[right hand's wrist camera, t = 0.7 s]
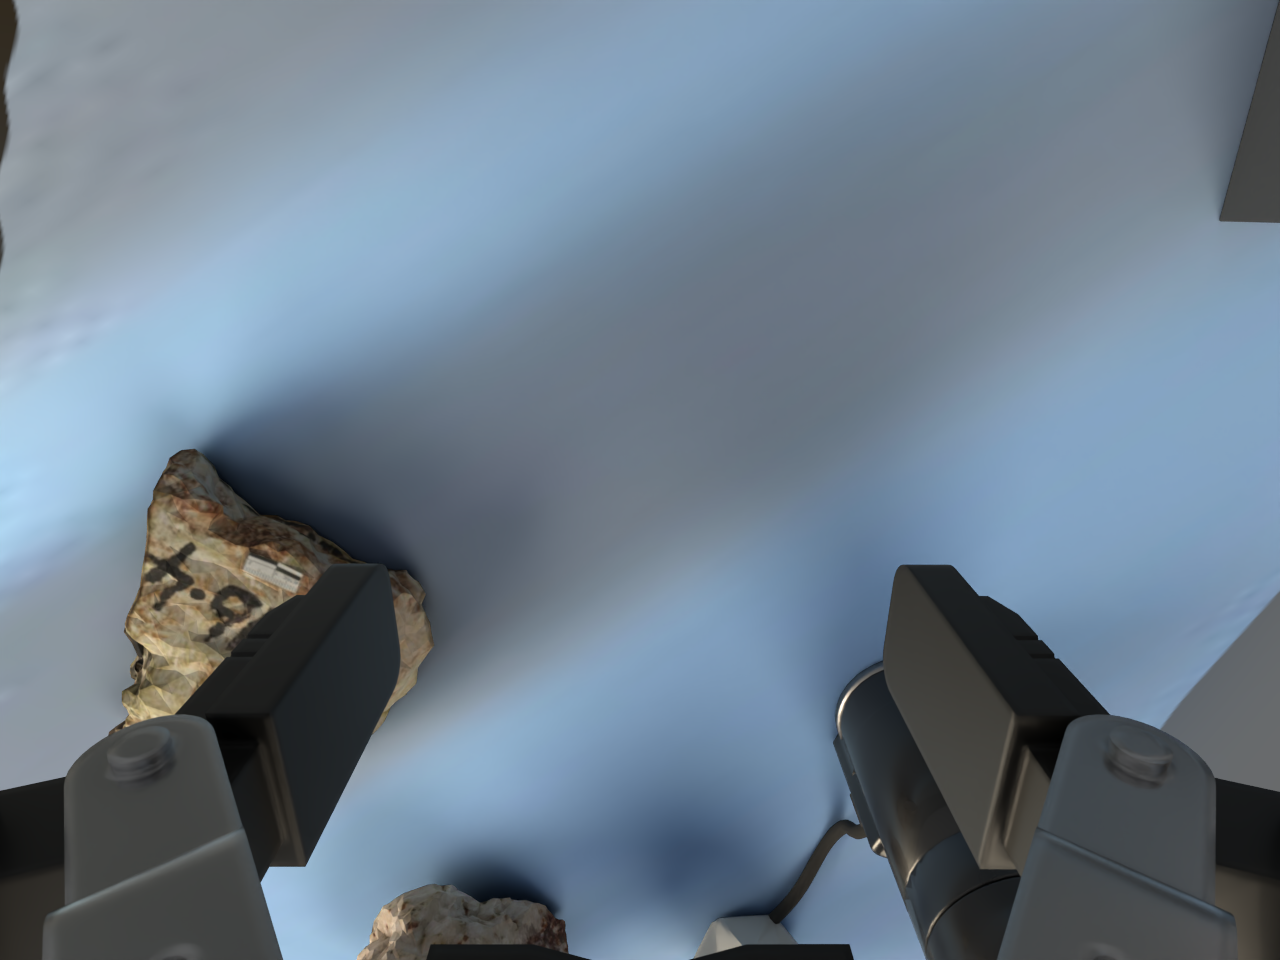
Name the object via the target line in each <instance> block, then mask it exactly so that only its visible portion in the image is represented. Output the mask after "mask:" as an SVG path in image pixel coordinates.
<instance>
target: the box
mask: <svg viewBox="0 0 1280 960" xmlns="http://www.w3.org/2000/svg"><path fill="white" fill-rule="evenodd" d="M1220 221H1231V222H1269V223H1280V0H1279V4H1278V7H1277V11H1276V15H1275V18H1274V22H1273V26H1272V30H1271V33H1270V37H1269V41H1268V44H1267V48H1266V52H1265V55H1264V59H1263V63H1262V66H1261V70H1260V74H1259V77H1258V81H1257V85H1256V88H1255V92H1254V96H1253V99H1252V103H1251V107H1250V110H1249V114H1248V118H1247V121H1246V125H1245V129H1244V132H1243V136H1242V140H1241V143H1240V147H1239V151H1238V154H1237V158H1236V162H1235V165H1234V169H1233V173H1232V176H1231V180H1230V184H1229V187H1228V191H1227V195H1226V198H1225V202H1224V206H1223V209H1222V213H1221V217H1220Z"/></svg>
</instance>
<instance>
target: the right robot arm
mask: <svg viewBox="0 0 1280 960" xmlns="http://www.w3.org/2000/svg"><path fill="white" fill-rule="evenodd" d="M400 658H401V654H400V643H399V636H398V630H397V623H396V616H395V609H394V602H393V595H392V588H391V581H390V576H389V573H388V570H387V568H386V566H385V565H383V564H333V565H331V566H330V567H329V568H328V569H327V570H326V571H325V573H324V574H323V575H322V576H321V577H320V579H319V580H318V581H317V582H316V583H315V584H314V586H313V587H312V588H311V589H310V590H309V591H308V593H307V594H306V595H295V596H294V597H292V598H290V599H289V600H287V601H286V602H284V603H282V604H281V605H279V606H277V607H276V608H274V609H272V610H271V611H269V612H267V613H266V614H265V615H264V616H263V617H262V619H261V620H260V621H259V622H258V623H257V624H256V625H255V626H254V627H253V628H252V630H251V631H250V632H249V633H248V634H247V639H242V641H241V642H240V643H239V644H238V645H237V646H236V647H235V648H234V649H233V650H232V652H231V656H230V657H226V658H225V659H224V660H223V662H222V663H221V664H220V665H219V666H218V667H217V668H216V669H215V670H214V671H213V673H212V674H211V675H210V676H209V677H208V678H207V679H206V680H205V681H204V682H203V684H202V685H201V686H200V687H199V688H198V689H197V690H196V691H195V692H194V693H193V695H192V696H191V697H190V698H189V699H188V700H187V701H186V702H185V703H184V705H183V706H182V707H181V708H180V709H179V710H178V711H177V712H176V713H175V714H174V715H167V716H160V717H156V718H151V719H148V720H144V721H141V722H138V723H135V724H133V725H130V726H127V727H125V728H123V729H121V730H119V731H117V732H114V733H113V734H111V735H109V736H107V737H106V738H104V739H102V740H101V741H99V742H98V743H96V744H95V745H93V746H92V747H91V748H89V749H88V750H87V751H86V752H85V753H83V754H82V755H81V756H80V757H79V758H78V759H77V760H76V762H75V763H74V764H73V765H72V767H71V768H70V770H69V771H68V773H67V776H66V777H62V778H58V779H53V780H49V781H44V782H39V783H35V784H30V785H25V786H21V787H16V788H11V789H7V790H2V791H0V960H283V958H282V954H281V951H280V948H279V944H278V941H277V938H276V934H275V931H274V927H273V924H272V921H271V917H270V914H269V910H268V907H267V904H266V900H265V897H264V893H263V890H262V887H261V883H260V882H261V881H262V879H263V877H264V875H265V874H266V872H267V870H268V868H269V867H305V866H306V864H307V862H308V860H309V858H310V856H311V854H312V852H313V850H314V848H315V846H316V844H317V842H318V840H319V838H320V836H321V834H322V832H323V830H324V828H325V826H326V825H327V823H328V821H329V819H330V817H331V815H332V813H333V811H334V809H335V807H336V805H337V803H338V801H339V799H340V797H341V795H342V793H343V791H344V789H345V787H346V785H347V783H348V781H349V779H350V777H351V775H352V773H353V771H354V769H355V767H356V765H357V763H358V761H359V759H360V757H361V755H362V753H363V751H364V749H365V747H366V745H367V743H368V741H369V739H370V737H371V735H372V733H373V731H374V729H375V727H376V725H377V723H378V721H379V719H380V717H381V715H382V713H383V711H384V709H385V707H386V705H387V703H388V701H389V699H390V697H391V695H392V693H393V691H394V689H395V687H396V684H397V680H398V676H399V670H400ZM883 666H884V674H885V679H886V683H887V686H888V689H889V691H890V693H891V695H892V697H893V699H894V701H895V703H896V705H897V707H898V709H899V711H900V713H901V715H902V717H903V719H904V721H905V723H906V725H907V727H908V729H909V731H910V733H911V734H912V736H913V738H914V740H915V742H916V744H917V746H918V748H919V750H920V752H921V754H922V756H923V758H924V760H925V762H926V764H927V766H928V768H929V770H930V772H931V774H932V776H933V778H934V780H935V782H936V784H937V786H938V787H939V789H940V791H941V793H942V795H943V797H944V799H945V801H946V803H947V805H948V807H949V809H950V811H951V813H952V815H953V817H954V819H955V821H956V823H957V825H958V827H959V829H960V831H961V833H962V835H963V837H964V839H965V841H966V842H967V844H968V846H969V848H970V850H971V852H972V854H973V856H974V858H975V860H976V862H977V864H978V866H979V868H980V869H1017V871H1018V873H1019V875H1020V876H1021V880H1020V883H1019V887H1018V890H1017V893H1016V897H1015V900H1014V904H1013V907H1012V910H1011V914H1010V917H1009V921H1008V924H1007V927H1006V931H1005V934H1004V938H1003V941H1002V944H1001V948H1000V951H999V954H998V958H997V960H1280V792H1277V791H1273V790H1268V789H1263V788H1259V787H1254V786H1250V785H1245V784H1240V783H1236V782H1231V781H1226V780H1222V779H1218V778H1214V776H1213V773H1212V771H1211V770H1210V768H1209V767H1208V765H1207V764H1206V763H1205V762H1204V761H1203V759H1202V758H1201V757H1200V756H1199V755H1198V754H1197V753H1195V752H1194V751H1193V750H1192V749H1191V748H1189V747H1188V746H1187V745H1185V744H1184V743H1182V742H1181V741H1179V740H1178V739H1176V738H1174V737H1173V736H1171V735H1169V734H1167V733H1166V732H1163V731H1161V730H1159V729H1157V728H1155V727H1153V726H1150V725H1147V724H1145V723H1142V722H1139V721H1136V720H1132V719H1129V718H1124V717H1120V716H1113V715H1110V714H1109V713H1108V712H1107V711H1106V710H1105V709H1104V708H1103V707H1102V705H1101V704H1100V703H1099V702H1098V701H1097V700H1096V699H1095V698H1094V697H1093V696H1092V695H1091V693H1090V692H1089V691H1088V690H1087V689H1086V688H1085V687H1084V686H1083V685H1082V684H1081V682H1080V681H1079V680H1078V679H1077V678H1076V677H1075V676H1074V675H1073V674H1072V673H1071V672H1070V670H1069V669H1068V668H1067V667H1066V666H1065V665H1064V664H1063V663H1062V662H1061V661H1060V660H1059V659H1055V657H1054V653H1053V652H1052V651H1051V650H1050V649H1049V648H1048V646H1047V645H1046V644H1045V643H1044V642H1043V641H1042V640H1038V636H1037V634H1036V633H1035V632H1034V631H1033V630H1032V629H1031V628H1030V627H1029V626H1028V625H1027V624H1026V622H1025V621H1024V620H1023V619H1022V618H1021V617H1020V616H1019V615H1018V614H1017V613H1015V612H1013V611H1012V610H1010V609H1008V608H1007V607H1005V606H1003V605H1002V604H1000V603H998V602H997V601H995V600H993V599H992V598H990V597H988V596H978V594H977V593H976V592H975V591H974V590H973V589H972V587H971V586H970V585H969V584H968V583H967V582H966V580H965V579H964V578H963V577H962V576H961V575H960V573H959V572H958V571H957V570H956V569H955V568H954V567H953V566H951V565H901V566H899V567H898V569H897V571H896V573H895V577H894V582H893V588H892V595H891V602H890V609H889V615H888V622H887V629H886V636H885V642H884V650H883ZM426 960H590V959H586V958H582V957H579V956H575V955H571V954H568V953H564V952H560V951H556V950H553V949H549V948H545V947H542V946H538V945H534V944H431V945H430V948H429V952H428V955H427V959H426ZM690 960H854V959H853V955H852V952H851V948H850V945H849V944H746V945H742V946H738V947H735V948H731V949H727V950H724V951H720V952H716V953H712V954H709V955H705V956H701V957H698V958H694V959H690Z"/></svg>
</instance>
